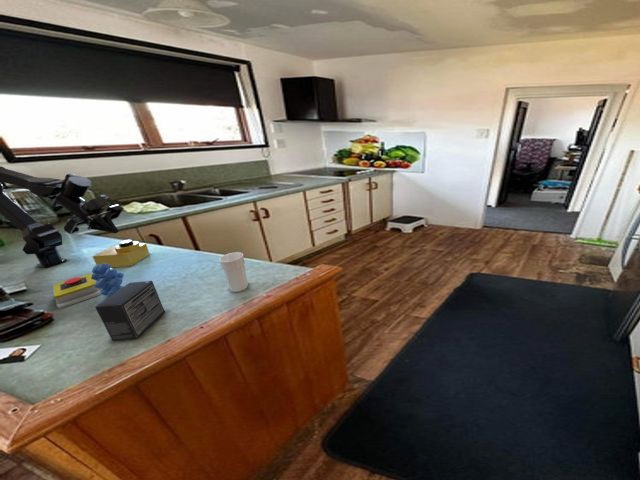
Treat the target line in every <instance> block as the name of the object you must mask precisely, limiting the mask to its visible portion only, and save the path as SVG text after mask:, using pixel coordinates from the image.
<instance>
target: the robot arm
mask: <svg viewBox="0 0 640 480" xmlns="http://www.w3.org/2000/svg"><path fill="white" fill-rule="evenodd" d="M2 183H3V184H8V185H12V186H15V187H19V188H23V189H26V190H28V191H29V192H30V194H32V195H35V196H37V197H40V198H44V199H46V198H52V197H55V198H54V199H53V198H52V199H51V201H52V203H51V204H52V207H53V208H56V207H62V208H64V210H66V211H68V212H70V213H69V216H71V217H70V218H68V219H67V221H66V223H65V224H64V226H63V230H64V232H66V233H67V234H69V235H72V234H75V233H79V231H80V228H79V227H81V226H84V225H86V226H88V227H87V228H86V229H87V230H88V231H89V230H94V231H100V232H105V233H110V234H111V233H112V234H118V233H119V229H118V228H117V226H116V225H115V223H114V222H113V220H115V219H118V218H119V217H120V215H121V214H122V212H123V210H124V209H125V208H124V207H123V206H122V205H120V204H114V205H111V206H109V205H110V203H111V201H112V199H111V198H110V197H109V196H107V195H106V194H101V195H99V196H97V197H95V198H92V199H90V200H89V199H88V200H85V199H84V198H83V197H85V196H86V195H87V193H88V191H89V190H90V189H91V186H92V184H93V183H92V181H91V180H90V179H89V178H87V177H84V176H82V175H76V174H74V173H67V174H66V175H65V176H64V179H63V180H61V179H59V178H54V177H53V178H52V177H39V176H38V177H37V176H33V175H30V174H26V173H23V172H18V171H15V170H12V169H8V168H5V167H3V166H0V215H2V217H4V218H5V219H6V220H8V221H9V223H12V224H13V225H14V226H15V227H16V228H17V229H18V230H19V231H20V232H21V235H22V240H23V241H24V242H25V244H24V245H23V248H22V252H23V253H24V254H25V255H35V257H36V259H37V260H38V263H37V264H36V267H40V268H43V269H46V268H49V267H52V266H56V265H58V264H61V263H65V262H67V261H68V259H67V258H63V257H62V256H61V254H60V252H59V249H58V248H57V247H60V246H62V245H63V244H64V243H63V235H62V233H61V232H60V230H59V229H57V228H56V227H55V226H53V225H52V224H51V223H46V224H45V223H44V224H43V223H40V222H39V221H37V220H36V219H35V218H33V217H32V216H31V215H30V214H29V213H28V212H26V211H25V210H24V209H23V208H22V207H21V206H20V205H18V204H17V203H16V202H14V200H12V199H11V198H10V197H9V196H8V195H7V194H5V193H4V186H3V184H2ZM106 206H108V207H107V208H106V210H105V208H104V207H106ZM104 210H105V211H104ZM102 211H103V212H102Z"/></svg>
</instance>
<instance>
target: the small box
mask: <svg viewBox="0 0 640 480" xmlns="http://www.w3.org/2000/svg"><path fill="white" fill-rule="evenodd" d="M94 309H95V310H96V311H97V314H98V315H99V318H100V319H101V322H102V323H103V326H104V327H105V329H106V331H107V333H108V335H109V337H110V340H111V341H113V342H116V341H127V340H128V341H129V340H138V339H139V338H140V337H141V336H142V335H143V334H144V333H145V332H146V331H147V330H148V329H149V328H151V326H153V325H154V323H155V322H157V320H158V319H160V317H162V316H163V315H164V314H165V313H166V310H165V308H164V306H163V304H162V301H161V298H160V297H159V294H158V292H157V288H156V287H155V284H154V282H153V280H145V281H143V280H142V281H135V282H133V281H132V282H129V283H127V284H126V285H123V288H121V289H120V290H118V291H117V292H116V293H114V294H113V295H111V296H110V297H107V298H105V299H103V300H102V301H101V302H99V303H98V304H96V305H95V306H94Z"/></svg>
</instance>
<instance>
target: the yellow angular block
mask: <svg viewBox="0 0 640 480" xmlns="http://www.w3.org/2000/svg"><path fill="white" fill-rule="evenodd" d="M132 241H133V243H134V244H133V245H130V246H127V247H120V245H119V244H115V245H112V246H110V247H108V248H106V249H104V250H102V251H101V252H100V251H99V252H98V253H96V254H94V255H92V259H93V260H94V263H95V265H100V264H108V265H111V268H123V267H133V266H134V265H135V264H137V263H139V262H140V261H142V260H143V259H145V258H146V257H148V256H151V253H150V250H149V248H148V245H147V243H144V242H143V243H140V242H139V241H137V240H132Z"/></svg>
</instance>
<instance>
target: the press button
mask: <svg viewBox="0 0 640 480" xmlns="http://www.w3.org/2000/svg"><path fill="white" fill-rule="evenodd" d="M133 241H134V240H133V239H125V240H122V241H120V242H118V245H120V247H127V246H130V245H133V244H134V243H133Z"/></svg>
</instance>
